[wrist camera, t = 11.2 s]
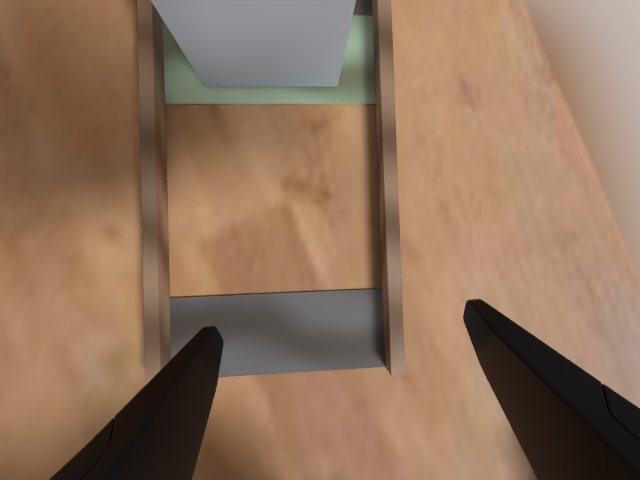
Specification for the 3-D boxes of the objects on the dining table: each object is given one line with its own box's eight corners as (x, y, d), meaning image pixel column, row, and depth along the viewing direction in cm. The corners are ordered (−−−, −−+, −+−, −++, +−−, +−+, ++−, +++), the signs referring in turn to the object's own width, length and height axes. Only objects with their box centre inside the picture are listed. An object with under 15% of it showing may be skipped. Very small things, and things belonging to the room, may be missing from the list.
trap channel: (397, 365, 21) (405, 375, 19) (157, 380, 20) (145, 391, 18) (382, -52, 21) (388, -75, 20) (147, -61, 20) (135, -85, 19)
